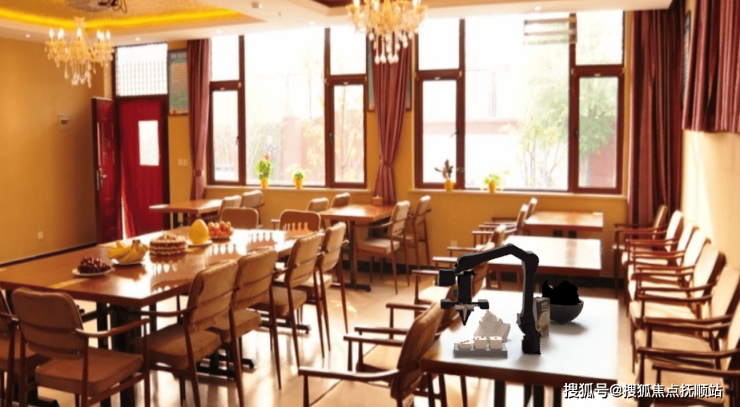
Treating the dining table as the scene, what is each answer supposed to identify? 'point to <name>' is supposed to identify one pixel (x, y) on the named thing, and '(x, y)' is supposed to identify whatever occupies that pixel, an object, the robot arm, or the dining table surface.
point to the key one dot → (495, 343)
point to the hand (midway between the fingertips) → (464, 325)
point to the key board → (481, 351)
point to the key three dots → (464, 344)
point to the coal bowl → (563, 301)
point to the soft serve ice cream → (492, 327)
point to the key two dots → (480, 342)
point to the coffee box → (542, 314)
